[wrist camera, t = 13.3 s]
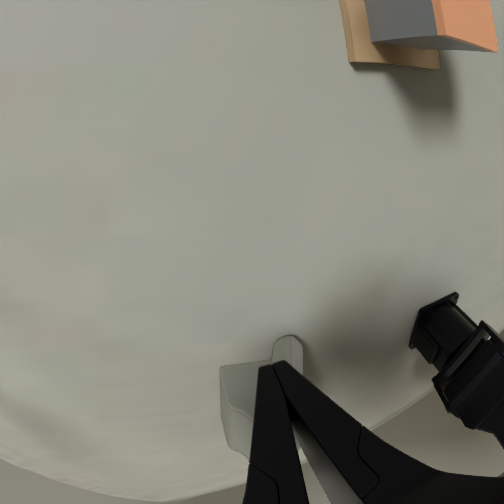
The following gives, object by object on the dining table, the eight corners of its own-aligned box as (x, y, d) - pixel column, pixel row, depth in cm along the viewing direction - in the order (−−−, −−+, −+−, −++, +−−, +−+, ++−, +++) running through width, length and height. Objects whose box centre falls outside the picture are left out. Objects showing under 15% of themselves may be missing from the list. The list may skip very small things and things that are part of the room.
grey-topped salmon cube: (415, -12, 13) (483, -23, 7) (426, 49, 15) (498, 52, 10) (358, -26, 12) (425, -52, 6) (371, 42, 15) (446, 34, 9)
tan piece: (418, -20, 13) (472, -31, 8) (433, 69, 17) (491, 75, 12) (330, -41, 12) (379, -71, 7) (348, 62, 16) (408, 58, 11)
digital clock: (273, 423, 33) (300, 496, 24) (201, 427, 31) (218, 509, 21) (326, 329, 27) (382, 422, 18) (230, 327, 24) (265, 445, 15)
